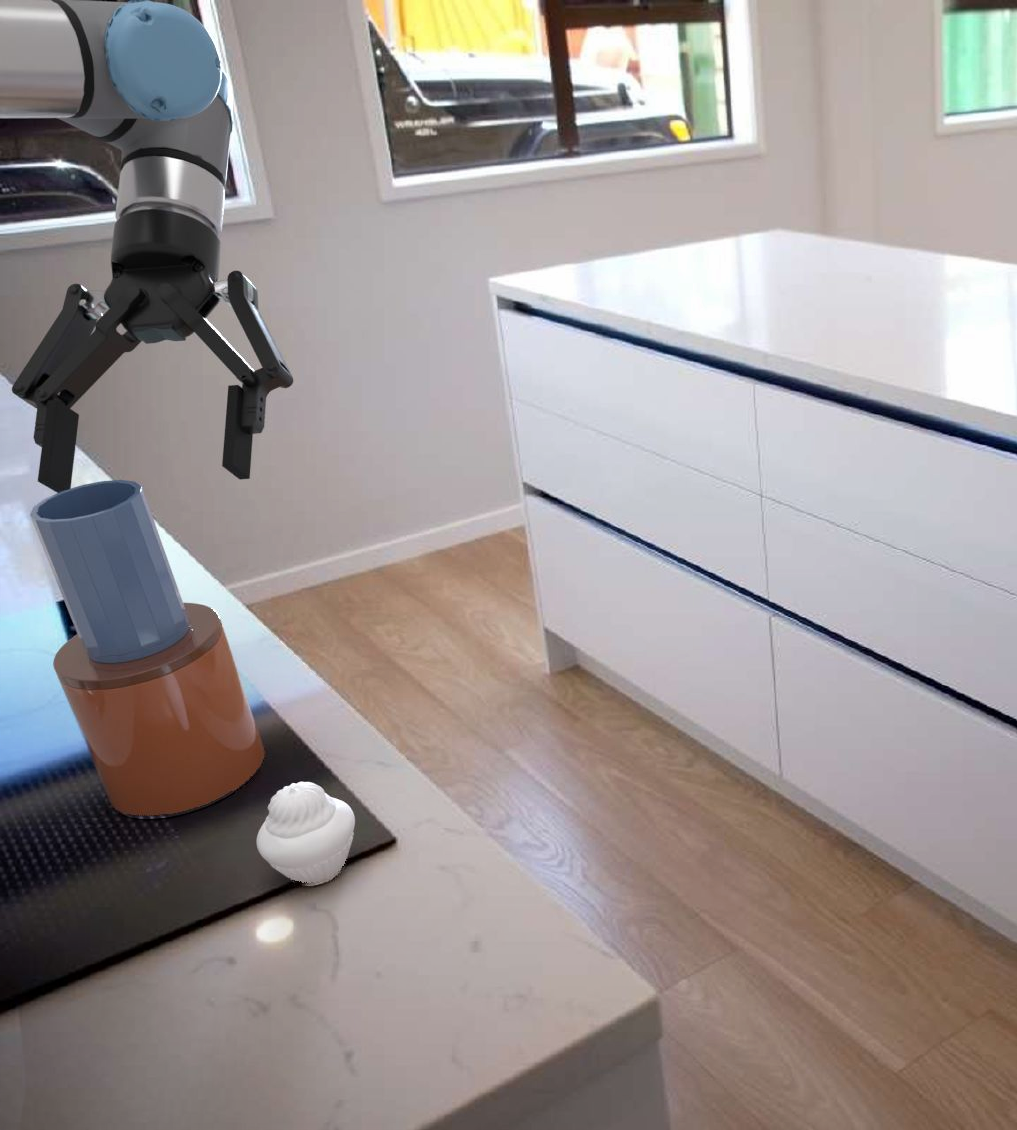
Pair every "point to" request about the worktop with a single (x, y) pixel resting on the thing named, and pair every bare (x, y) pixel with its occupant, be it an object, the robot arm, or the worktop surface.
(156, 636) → the cup
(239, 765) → the canister
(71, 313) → the robot arm
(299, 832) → the muffin
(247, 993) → the worktop surface
